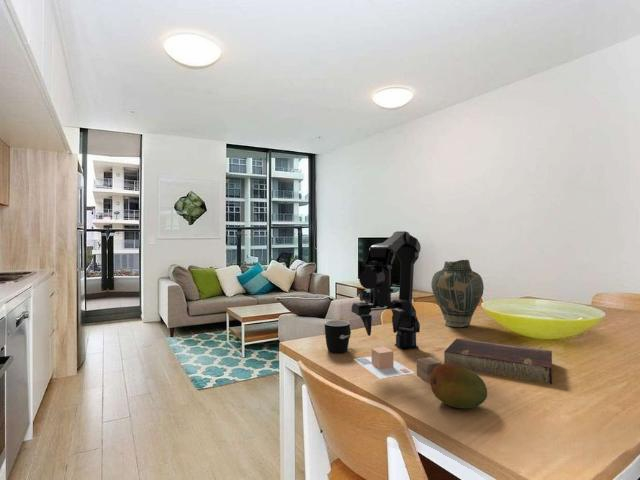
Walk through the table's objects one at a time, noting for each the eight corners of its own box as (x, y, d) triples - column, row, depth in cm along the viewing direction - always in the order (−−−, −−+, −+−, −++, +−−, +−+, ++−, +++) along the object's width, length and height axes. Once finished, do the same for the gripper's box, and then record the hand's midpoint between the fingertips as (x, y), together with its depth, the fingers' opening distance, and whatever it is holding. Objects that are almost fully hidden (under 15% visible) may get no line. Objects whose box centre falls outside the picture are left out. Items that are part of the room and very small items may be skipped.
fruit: (424, 395, 96) (424, 357, 96) (471, 393, 97) (471, 355, 97) (443, 418, 84) (443, 374, 84) (496, 415, 85) (496, 372, 85)
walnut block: (430, 373, 111) (430, 357, 111) (441, 379, 106) (441, 362, 106) (416, 376, 109) (416, 359, 109) (427, 382, 105) (427, 364, 105)
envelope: (384, 355, 128) (384, 354, 128) (415, 373, 111) (415, 372, 111) (353, 359, 124) (353, 358, 124) (379, 379, 107) (379, 378, 107)
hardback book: (551, 365, 118) (551, 349, 118) (552, 385, 103) (552, 367, 102) (457, 350, 134) (457, 336, 134) (444, 366, 118) (444, 351, 118)
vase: (492, 331, 157) (492, 260, 156) (439, 332, 157) (439, 261, 156) (471, 319, 179) (471, 257, 178) (425, 319, 179) (425, 257, 179)
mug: (339, 356, 127) (339, 327, 127) (319, 351, 133) (319, 323, 132) (359, 348, 136) (359, 320, 136) (340, 343, 142) (340, 317, 141)
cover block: (385, 362, 121) (385, 346, 121) (393, 367, 116) (393, 351, 116) (371, 364, 119) (371, 348, 119) (379, 369, 114) (379, 353, 114)
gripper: (394, 280, 128) (394, 325, 128) (344, 283, 121) (344, 330, 122) (412, 284, 117) (412, 333, 118) (359, 287, 111) (359, 339, 111)
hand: (382, 334), depth 117 cm, fingers open, 9 cm apart
